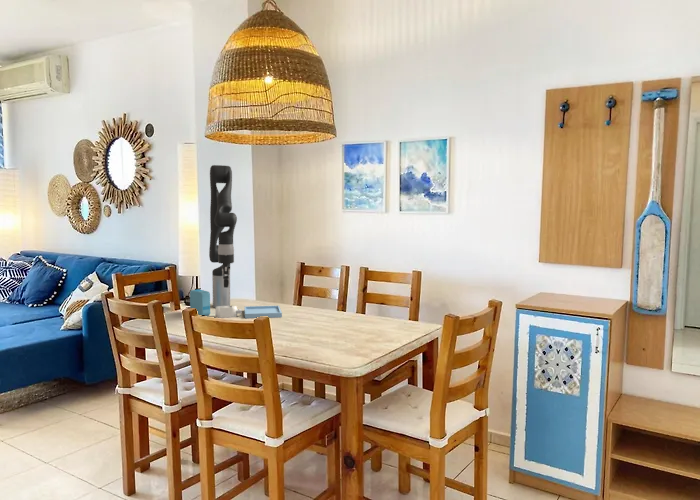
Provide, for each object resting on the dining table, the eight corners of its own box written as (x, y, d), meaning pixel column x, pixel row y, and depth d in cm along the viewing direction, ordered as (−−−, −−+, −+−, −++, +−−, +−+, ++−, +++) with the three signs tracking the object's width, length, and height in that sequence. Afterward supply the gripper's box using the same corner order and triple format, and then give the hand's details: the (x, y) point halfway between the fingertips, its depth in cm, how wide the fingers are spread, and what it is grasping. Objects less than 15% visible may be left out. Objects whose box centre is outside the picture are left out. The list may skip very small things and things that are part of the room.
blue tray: (244, 310, 284) (244, 306, 283) (279, 309, 287) (279, 305, 287) (245, 318, 266) (245, 313, 266) (281, 317, 270) (281, 312, 269)
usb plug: (215, 318, 266) (215, 307, 265) (215, 316, 270) (215, 306, 270) (241, 317, 268) (241, 307, 268) (241, 315, 273) (241, 305, 272)
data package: (210, 315, 271) (210, 292, 269) (202, 317, 267) (202, 293, 266) (198, 311, 279) (197, 288, 278) (190, 313, 276) (189, 289, 275)
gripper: (218, 252, 272) (218, 284, 274) (217, 254, 258) (218, 288, 260) (233, 251, 274) (234, 283, 275) (233, 254, 260) (234, 288, 261)
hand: (226, 286), depth 267 cm, fingers open, 8 cm apart
